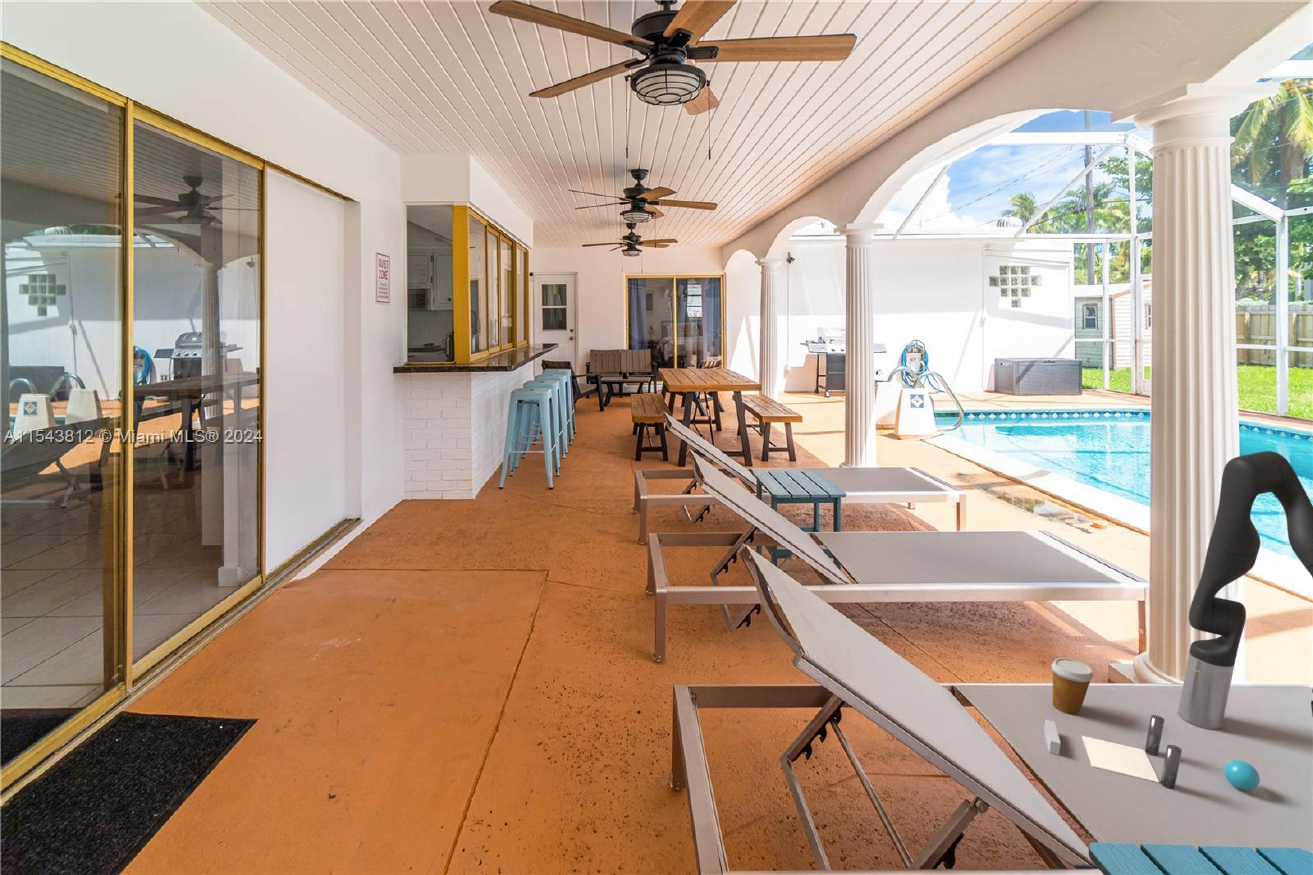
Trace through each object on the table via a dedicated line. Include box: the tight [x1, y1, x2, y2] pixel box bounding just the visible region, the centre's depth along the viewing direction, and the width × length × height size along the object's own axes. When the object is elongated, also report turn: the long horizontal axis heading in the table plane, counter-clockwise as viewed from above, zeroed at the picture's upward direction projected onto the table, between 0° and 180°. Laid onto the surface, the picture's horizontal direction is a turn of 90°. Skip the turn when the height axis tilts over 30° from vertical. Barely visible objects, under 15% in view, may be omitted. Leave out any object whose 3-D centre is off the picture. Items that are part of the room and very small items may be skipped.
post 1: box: [1144, 714, 1165, 757], centre depth 165 cm, size 3×3×9 cm
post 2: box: [1159, 744, 1183, 790], centre depth 153 cm, size 3×3×9 cm
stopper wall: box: [1043, 719, 1062, 756], centre depth 168 cm, size 10×2×3 cm, turn 157°
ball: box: [1223, 759, 1261, 791], centre depth 154 cm, size 6×6×6 cm
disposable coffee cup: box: [1051, 657, 1094, 715], centre depth 183 cm, size 10×10×12 cm
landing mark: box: [1081, 735, 1160, 784], centre depth 163 cm, size 13×13×1 cm
